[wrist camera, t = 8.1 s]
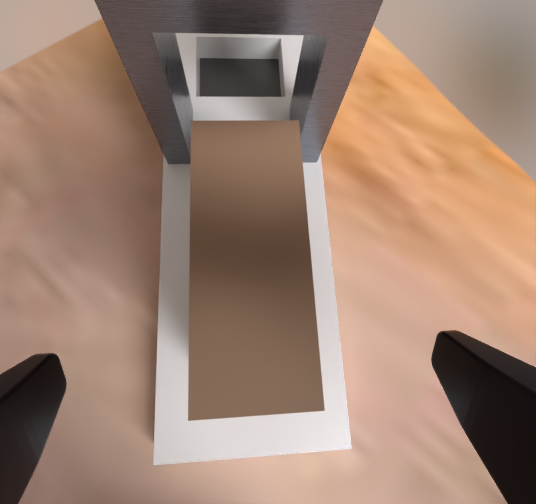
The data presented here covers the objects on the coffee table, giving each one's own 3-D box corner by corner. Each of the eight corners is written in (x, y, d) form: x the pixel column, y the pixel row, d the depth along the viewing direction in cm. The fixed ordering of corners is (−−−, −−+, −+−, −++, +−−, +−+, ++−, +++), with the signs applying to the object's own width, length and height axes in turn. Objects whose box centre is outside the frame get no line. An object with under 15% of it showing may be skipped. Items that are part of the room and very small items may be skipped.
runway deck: (340, 437, 19) (351, 448, 17) (163, 451, 18) (153, 465, 16) (301, 46, 26) (306, 22, 24) (173, 44, 25) (167, 19, 23)
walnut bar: (289, 377, 17) (324, 410, 10) (214, 382, 17) (187, 421, 9) (278, 204, 20) (298, 120, 12) (212, 206, 19) (190, 120, 12)
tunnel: (316, 162, 21) (385, -5, 11) (168, 164, 20) (88, -14, 10) (311, 109, 22) (369, -90, 12) (169, 109, 21) (98, -103, 11)
